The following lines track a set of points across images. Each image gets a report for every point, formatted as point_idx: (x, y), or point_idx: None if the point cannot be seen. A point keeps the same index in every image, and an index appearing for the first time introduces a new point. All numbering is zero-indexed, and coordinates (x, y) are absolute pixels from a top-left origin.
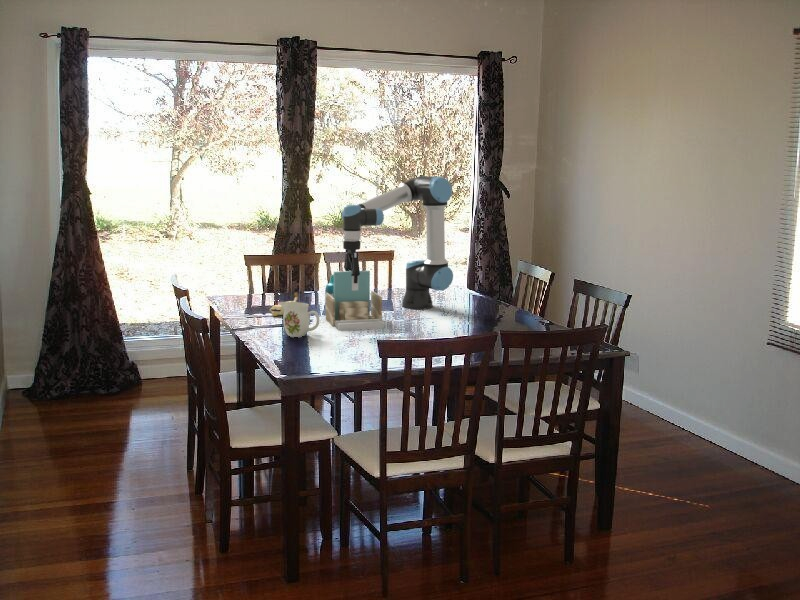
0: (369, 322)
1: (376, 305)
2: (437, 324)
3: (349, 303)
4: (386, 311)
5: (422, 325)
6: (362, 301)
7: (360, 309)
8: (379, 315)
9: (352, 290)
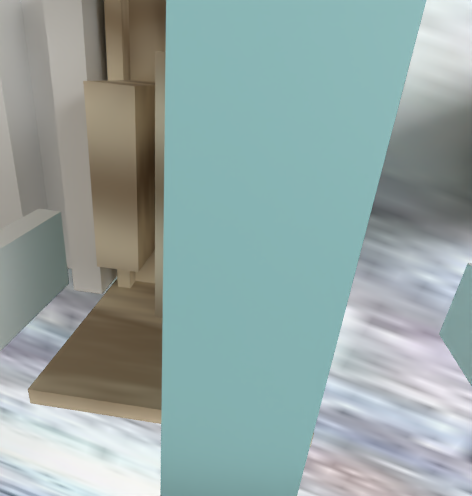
0: (2, 203)
1: (155, 345)
2: (133, 473)
3: (158, 157)
4: (469, 431)
5: (127, 429)
6: None
7: (96, 212)
8: (100, 304)
9: (38, 211)
